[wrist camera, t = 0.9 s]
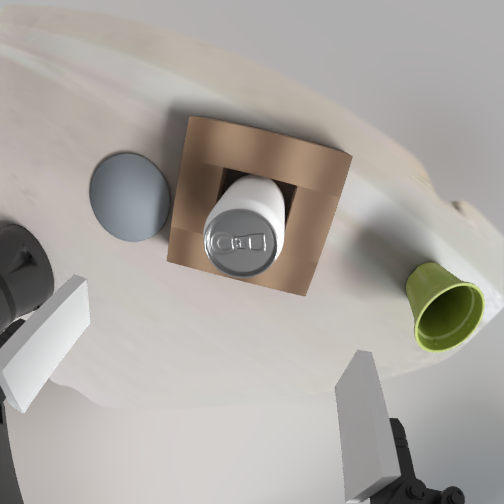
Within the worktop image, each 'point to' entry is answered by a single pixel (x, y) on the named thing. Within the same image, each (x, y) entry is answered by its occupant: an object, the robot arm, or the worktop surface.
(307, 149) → the pocket block
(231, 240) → the can
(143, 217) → the slate mat
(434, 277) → the plant pot
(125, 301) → the worktop surface
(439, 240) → the worktop surface
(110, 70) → the worktop surface
